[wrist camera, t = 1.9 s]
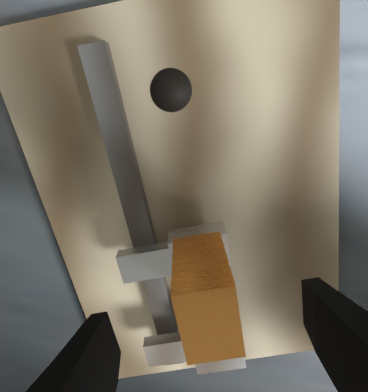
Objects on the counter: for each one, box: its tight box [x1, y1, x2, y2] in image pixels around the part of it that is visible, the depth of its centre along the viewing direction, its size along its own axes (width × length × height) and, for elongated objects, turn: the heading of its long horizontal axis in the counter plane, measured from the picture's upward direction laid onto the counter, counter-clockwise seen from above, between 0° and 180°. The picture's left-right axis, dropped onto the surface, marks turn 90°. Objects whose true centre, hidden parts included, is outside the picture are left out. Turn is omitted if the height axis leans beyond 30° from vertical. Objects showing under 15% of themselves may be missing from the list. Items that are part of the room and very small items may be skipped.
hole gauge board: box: [0, 0, 340, 379], centre depth 15 cm, size 16×22×4 cm
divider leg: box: [116, 221, 246, 365], centre depth 13 cm, size 6×3×7 cm, turn 100°
